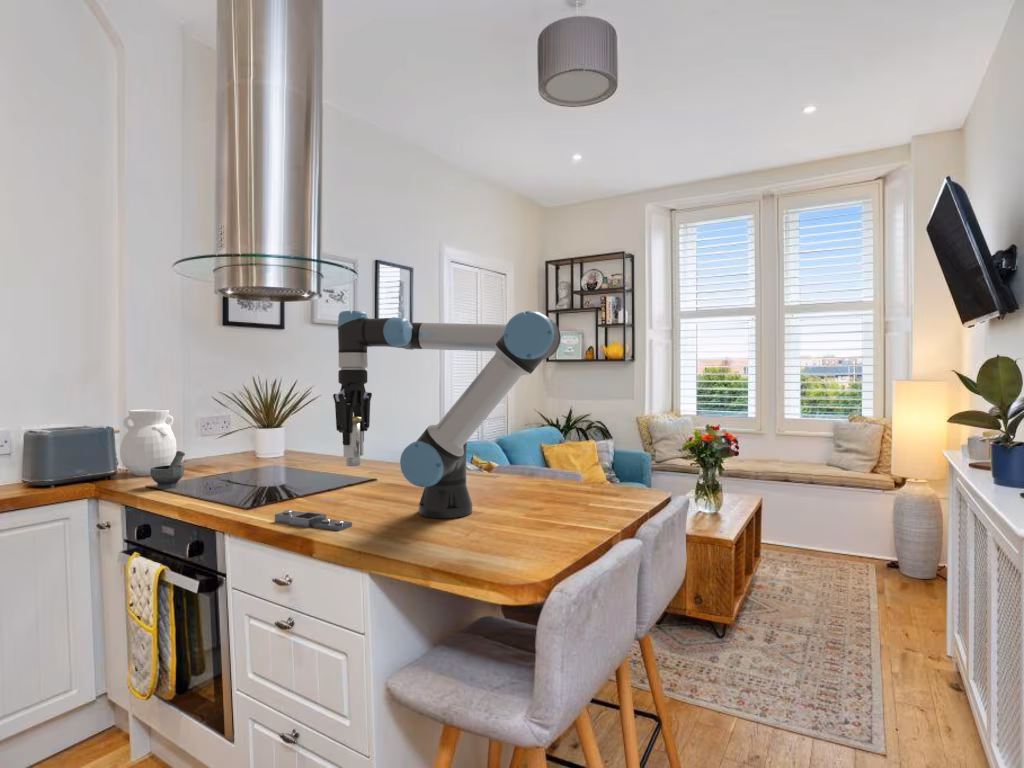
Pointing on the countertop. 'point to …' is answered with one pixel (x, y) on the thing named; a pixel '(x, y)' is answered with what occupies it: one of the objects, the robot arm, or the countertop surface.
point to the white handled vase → (148, 441)
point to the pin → (355, 442)
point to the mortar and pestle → (169, 473)
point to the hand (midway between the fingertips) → (353, 456)
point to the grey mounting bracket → (310, 520)
